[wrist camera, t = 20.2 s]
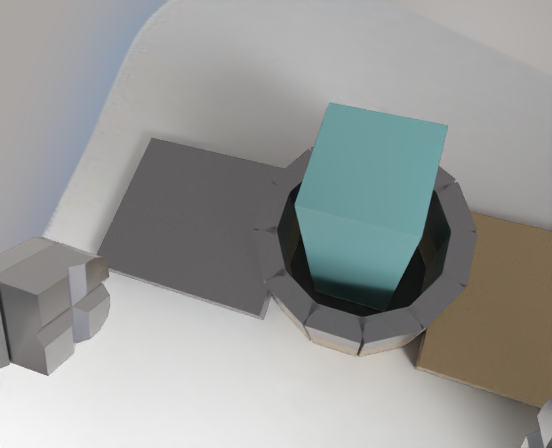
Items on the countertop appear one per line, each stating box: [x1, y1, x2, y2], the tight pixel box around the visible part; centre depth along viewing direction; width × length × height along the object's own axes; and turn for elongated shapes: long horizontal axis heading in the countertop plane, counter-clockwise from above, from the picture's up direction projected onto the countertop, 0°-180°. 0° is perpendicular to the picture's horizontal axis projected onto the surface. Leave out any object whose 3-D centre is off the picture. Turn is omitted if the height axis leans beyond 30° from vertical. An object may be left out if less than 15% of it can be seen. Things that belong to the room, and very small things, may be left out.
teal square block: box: [295, 103, 448, 311], centre depth 23 cm, size 4×4×14 cm
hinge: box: [97, 138, 552, 408], centre depth 26 cm, size 34×11×7 cm, turn 72°
